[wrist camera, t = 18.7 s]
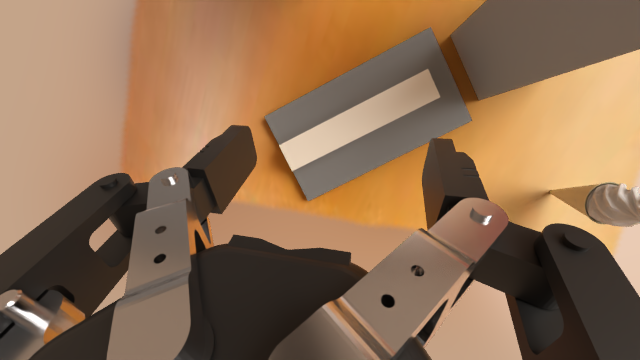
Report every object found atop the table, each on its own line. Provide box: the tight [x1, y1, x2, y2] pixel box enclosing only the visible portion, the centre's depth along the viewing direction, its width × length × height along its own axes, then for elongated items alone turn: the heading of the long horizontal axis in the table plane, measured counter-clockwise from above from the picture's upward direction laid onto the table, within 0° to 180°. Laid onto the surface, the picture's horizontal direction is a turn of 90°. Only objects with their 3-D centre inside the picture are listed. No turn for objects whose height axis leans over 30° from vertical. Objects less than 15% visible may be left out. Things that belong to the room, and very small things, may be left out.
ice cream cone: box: [550, 182, 640, 227], centre depth 32 cm, size 5×5×15 cm
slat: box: [279, 69, 440, 171], centre depth 37 cm, size 22×4×2 cm, turn 116°
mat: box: [265, 27, 472, 201], centre depth 39 cm, size 26×14×1 cm, turn 117°
